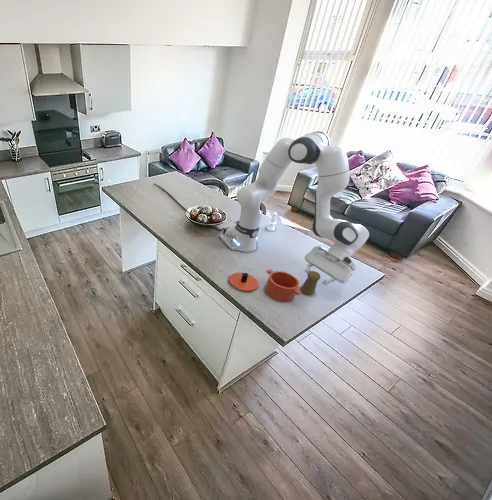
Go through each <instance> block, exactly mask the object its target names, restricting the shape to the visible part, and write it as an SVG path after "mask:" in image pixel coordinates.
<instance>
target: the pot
mask: <svg viewBox="0 0 492 500" xmlns="http://www.w3.org/2000/svg"><path fill="white" fill-rule="evenodd" d="M266 273H267V274H268V279H267V281H266V285H265V287H264V289H265V294H266V295H267V296H268V297H269V298H271V299H272V300H275V301H276V302H281V303H288V302H291V301H292V300H294V298H295V296H299V295H302V294H303V293H302V292H301V290H300V289H298V288H299V286H300V281H299V280H298V278H297V277H296V276H294V275H293V274H292V273H289V272H287V271H282V270H274V271H273V270H272V269H271V268H270V269H267V270H266Z"/></svg>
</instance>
